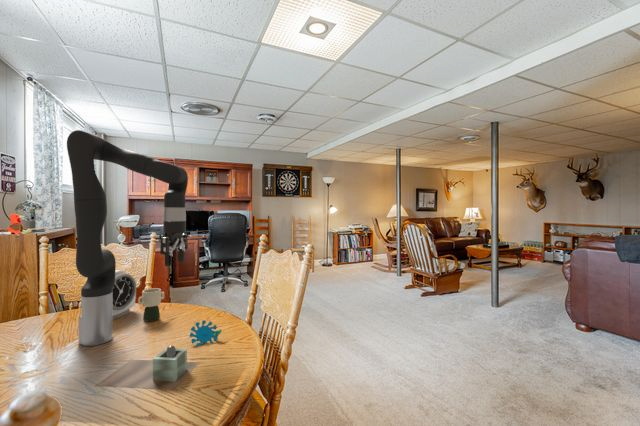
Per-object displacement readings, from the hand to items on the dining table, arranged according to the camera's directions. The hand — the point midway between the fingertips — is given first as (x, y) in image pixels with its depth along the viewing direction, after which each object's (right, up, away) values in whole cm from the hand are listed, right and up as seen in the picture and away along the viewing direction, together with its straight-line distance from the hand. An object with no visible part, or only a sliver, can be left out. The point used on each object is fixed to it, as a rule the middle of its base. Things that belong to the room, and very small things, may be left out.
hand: (174, 263), depth 112 cm
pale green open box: (+11, -28, -25) cm, 39 cm away
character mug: (-19, -28, +19) cm, 39 cm away
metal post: (+11, -28, -25) cm, 39 cm away
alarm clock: (-38, -28, +23) cm, 52 cm away
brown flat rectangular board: (+5, -29, -25) cm, 38 cm away
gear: (+13, -29, -3) cm, 31 cm away
